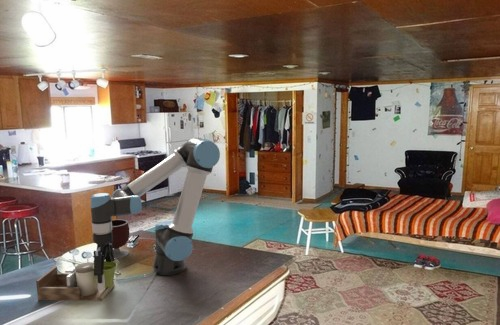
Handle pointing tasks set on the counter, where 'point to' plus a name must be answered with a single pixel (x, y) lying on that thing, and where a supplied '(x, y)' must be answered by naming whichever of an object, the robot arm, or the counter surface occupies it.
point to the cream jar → (86, 279)
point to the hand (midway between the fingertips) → (105, 284)
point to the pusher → (71, 277)
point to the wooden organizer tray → (64, 288)
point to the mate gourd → (120, 237)
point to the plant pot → (108, 273)
